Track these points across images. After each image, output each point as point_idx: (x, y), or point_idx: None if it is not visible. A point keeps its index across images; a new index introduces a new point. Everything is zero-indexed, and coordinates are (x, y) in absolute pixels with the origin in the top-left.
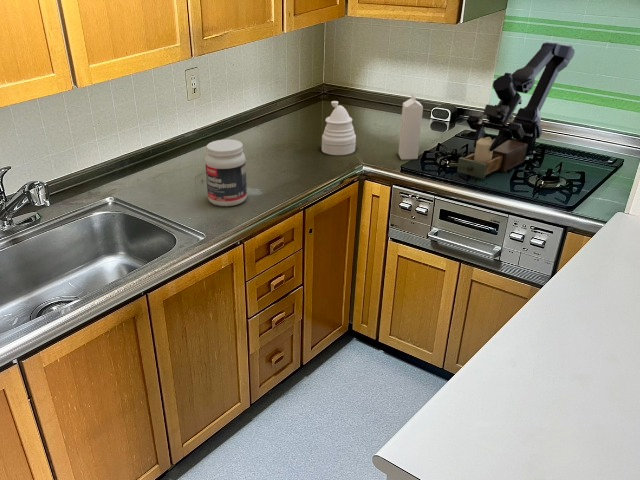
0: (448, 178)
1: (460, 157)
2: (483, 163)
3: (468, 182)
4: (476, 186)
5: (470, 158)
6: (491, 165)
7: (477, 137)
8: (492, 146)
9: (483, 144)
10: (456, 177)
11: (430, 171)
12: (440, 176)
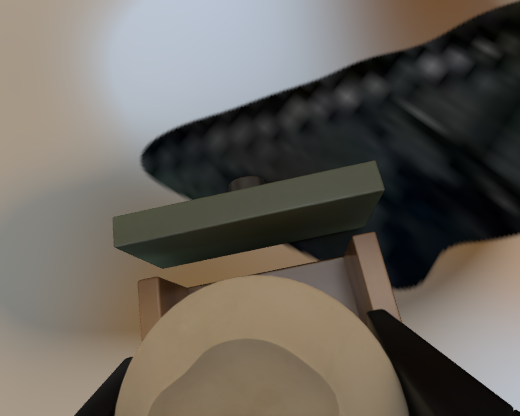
0: (328, 125)
1: (379, 181)
2: (142, 228)
3: (212, 173)
4: (144, 166)
5: (367, 308)
6: None
7: (442, 404)
8: (98, 392)
9: (193, 293)
10: (313, 172)
11: (491, 115)
12: (382, 110)
